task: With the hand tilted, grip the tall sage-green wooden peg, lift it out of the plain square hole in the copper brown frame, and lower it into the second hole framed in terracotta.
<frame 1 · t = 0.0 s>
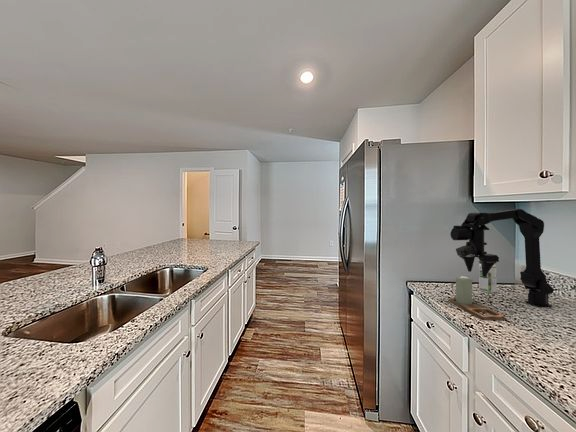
hand: (476, 273, 119), 15 cm above the worktop, tool pointing down, fingers open, 9 cm apart
syrup box: (487, 291, 140), on the worktop
sage peg: (463, 304, 122), resting in copper brown frame
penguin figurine: (462, 291, 142), on the worktop
copper brown frame: (473, 309, 115), on the worktop
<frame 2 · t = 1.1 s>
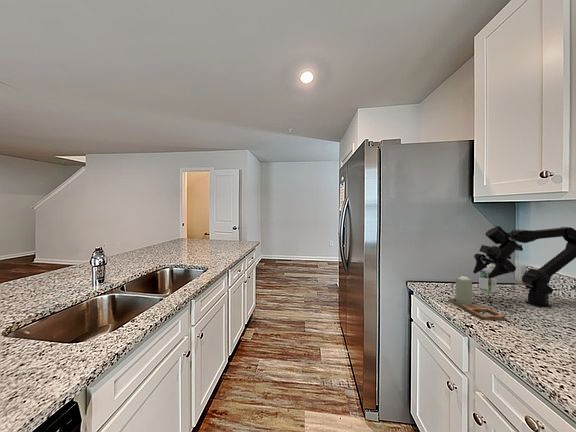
hand: (481, 275, 121), 13 cm above the worktop, tool tilted 45°, fingers open, 9 cm apart
nothing on the worktop moved.
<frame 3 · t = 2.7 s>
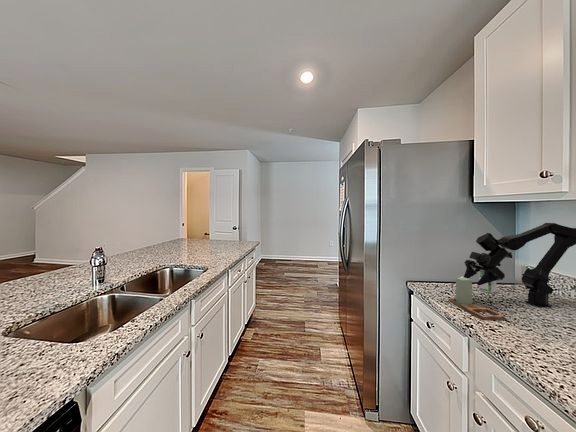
hand: (470, 281, 121), 10 cm above the worktop, tool tilted 45°, fingers open, 9 cm apart
nothing on the worktop moved.
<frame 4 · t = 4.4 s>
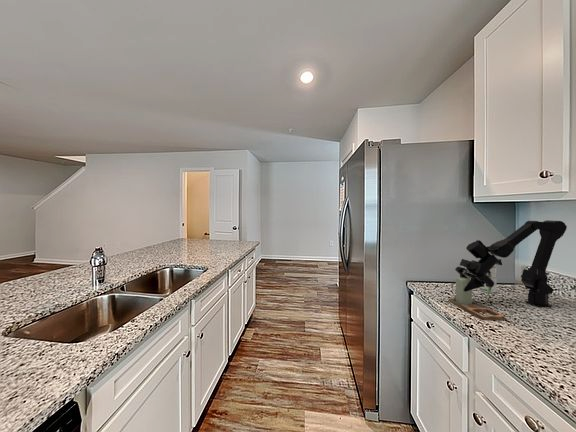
hand: (460, 289, 121), 7 cm above the worktop, tool tilted 45°, fingers closed on sage peg, 4 cm apart
sage peg: (463, 304, 122), resting in copper brown frame, touching gripper
everything else where it was.
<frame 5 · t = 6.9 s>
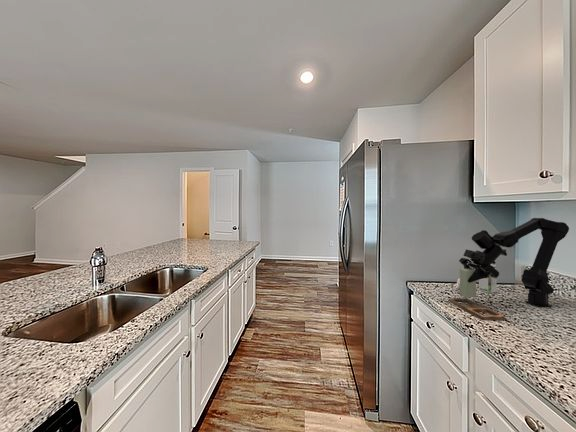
hand: (464, 280, 119), 12 cm above the worktop, tool tilted 45°, fingers closed on sage peg, 4 cm apart
sage peg: (467, 295, 119), point 5 cm above the worktop, touching gripper
everything else where it was.
when the fingers open (8 cm above the worktop, at t = 9.2 s): sage peg stays where it is, resting in copper brown frame.
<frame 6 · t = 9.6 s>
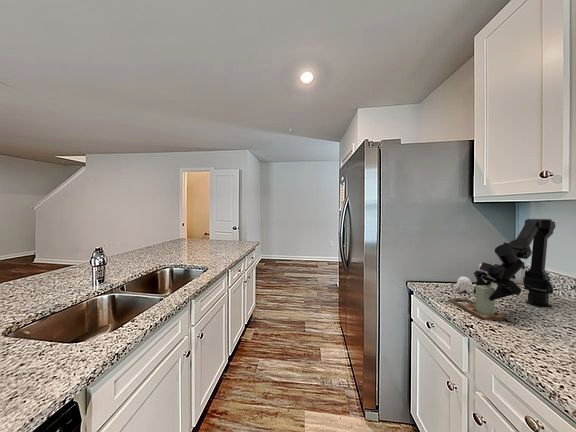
hand: (481, 296, 108), 8 cm above the worktop, tool tilted 45°, fingers open, 8 cm apart
sage peg: (485, 315, 109), resting in copper brown frame
everything else where it was.
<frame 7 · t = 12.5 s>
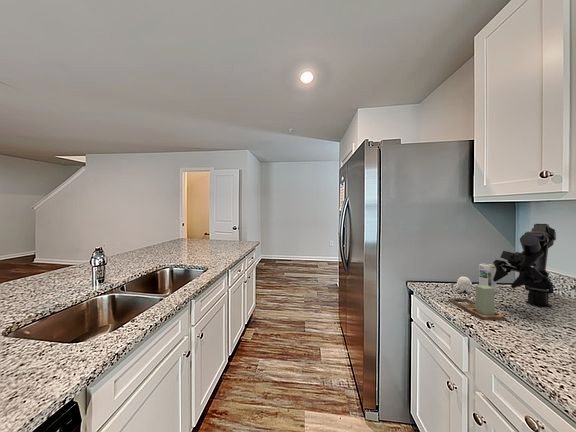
hand: (502, 284, 111), 12 cm above the worktop, tool tilted 45°, fingers open, 9 cm apart
nothing on the worktop moved.
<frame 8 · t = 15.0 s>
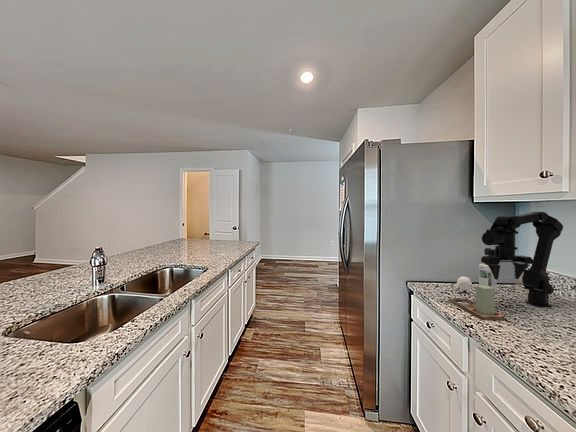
hand: (506, 279, 115), 13 cm above the worktop, tool pointing down, fingers open, 9 cm apart
nothing on the worktop moved.
at the end: sage peg 0.0 cm from the target spot, resting in copper brown frame; sage peg tilted 0°; the gripper is holding nothing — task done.
